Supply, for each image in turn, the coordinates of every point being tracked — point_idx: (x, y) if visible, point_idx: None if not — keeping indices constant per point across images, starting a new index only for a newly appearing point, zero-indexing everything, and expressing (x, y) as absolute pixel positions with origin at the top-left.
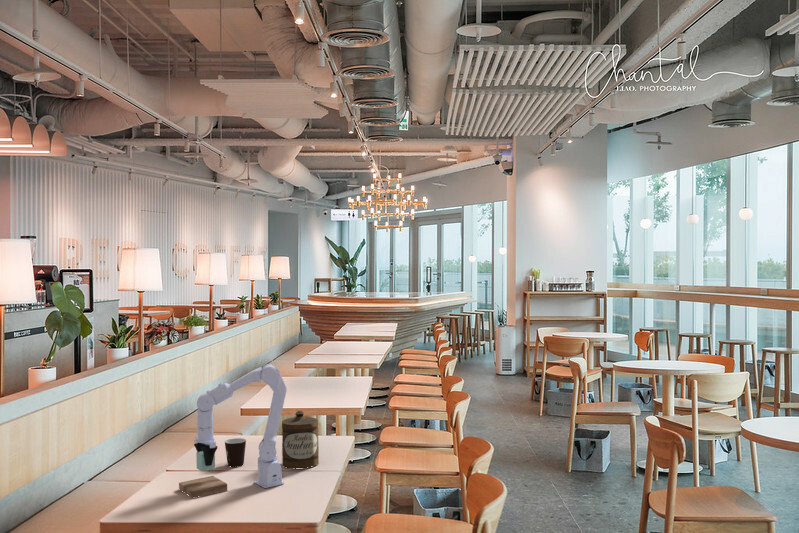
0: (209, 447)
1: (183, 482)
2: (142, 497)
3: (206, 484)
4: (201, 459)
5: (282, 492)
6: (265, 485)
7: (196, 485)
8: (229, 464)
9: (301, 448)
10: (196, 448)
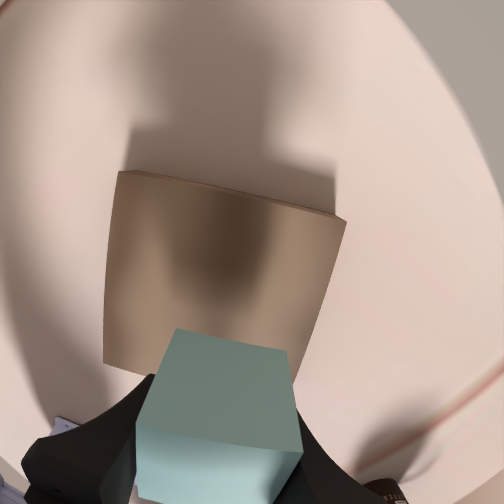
0: (32, 489)
1: (326, 241)
2: (374, 31)
3: (169, 302)
4: (155, 388)
5: (7, 405)
6: (67, 429)
7: (201, 256)
8: (379, 485)
9: None
10: (333, 485)
